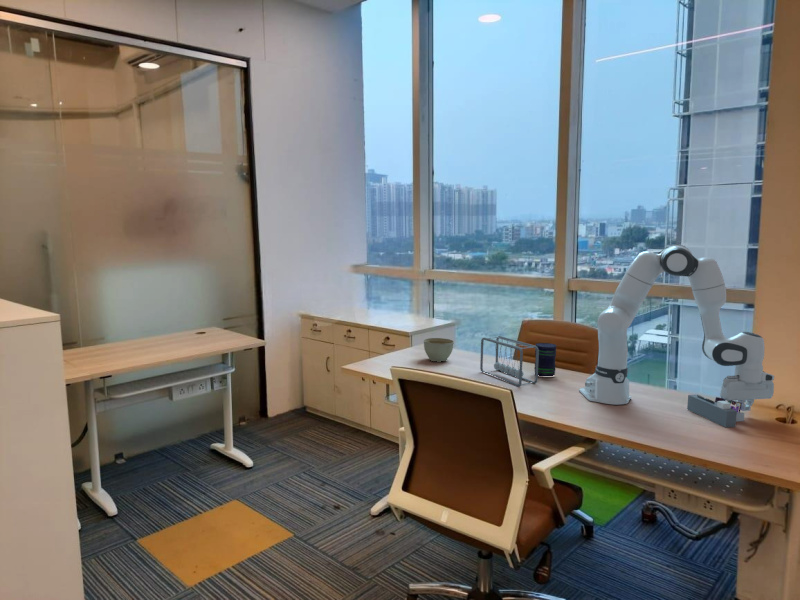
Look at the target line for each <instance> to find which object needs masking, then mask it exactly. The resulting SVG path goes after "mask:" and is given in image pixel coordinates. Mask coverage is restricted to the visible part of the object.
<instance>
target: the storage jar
mask: <svg viewBox="0 0 800 600" xmlns="http://www.w3.org/2000/svg"><path fill="white" fill-rule="evenodd" d="M535 346H537V347H538V349H539V360H538V375H539V376H553V375H555V374H556V358H557V344H554V343H550V342H549V343H548V342H538V343H535ZM534 352H535V354H534V356H535V357H536V349H535V348H534ZM533 368H534V369H533V370H534V371H535V370H536V360H535V363H534V367H533ZM555 376H556V375H555Z"/></svg>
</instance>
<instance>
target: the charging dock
mask: <svg viewBox="0 0 800 600" xmlns="http://www.w3.org/2000/svg"><path fill="white" fill-rule="evenodd" d="M730 406H732V403H729V402H728V401H727V400H725V401H717V402H715V400H712V399H710V398H706V397H704V396H702V395H699V394H688V395H687V408H686V409H688V410H687V411H689V410H690V412H691V411H692V412H691V413H693V412H694V414H695V413H696V414H695V415H698V414H699V415H698V416H700V415H701V416H700V417H702V416H703V417H702V418H704V417H705V418H704V419H706V418H707V420H708V419H709V421H710V420H711V422H712V423H715V424H717V425H719V426H722V427H723V428H736V423H738V422H744V421H745V412H744V411H742V412H741V411H740V413H737V411H736V410H734V409H731V408H730Z"/></svg>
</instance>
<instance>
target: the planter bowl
mask: <svg viewBox="0 0 800 600" xmlns="http://www.w3.org/2000/svg"><path fill="white" fill-rule="evenodd" d="M454 344H455V341H454V340H453V339H451V338H450V339H449V338H444V337H443V338H441V337H430V338H424V339H423V348H424V353H425V354H426V356H427V357H428V360H429V361H430V360H431V361H430V362H432V361H437V362H436V363H442V362H441V361H446V360H447V361H448V358H449V357H450V355H451V354H452V352H453V349H454ZM447 361H446V362H447Z"/></svg>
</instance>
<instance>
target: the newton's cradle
mask: <svg viewBox="0 0 800 600" xmlns="http://www.w3.org/2000/svg"><path fill="white" fill-rule="evenodd" d="M500 340H502V341H500ZM484 341H487V342H491V343H493V344H495V345H494V348H495V363H494V364H493V368H494V370H500V371H501V372H500V373H502V372H505V373H507V374H506V375H508V374H511V375H513V376H516V377H518V378H517V379H518V383H517V382H514V381H512V380H508V379H506V378H503V377H500V376H498V375H495V374H492V373H491V372H485V370H484V368H483V364H484ZM504 341H505V342H504ZM515 344H516V345H515ZM518 345H519V346H518ZM499 346H500V347H499ZM502 346H504V351H505V353H504V355H505V357H504V358H503V356H502V355H499V353H502ZM520 346H521V347H520ZM507 347H508V348H509V349H510V352H513V351H512V350H513V349H514V350H516V351H515V354H516V355H515V356H518V354H517V353H518V351H519V362H518V359H517V357H515V359H514V361H517V363H519V366H517V368H516V367H515V364H516V363H514V364H513V363H511V362H510V361H511V359H512V356H513V355H512V354H509V355H510V356H509V358H510V359H509V360H508V357H507V349H508V348H507ZM499 348H500V349H499ZM525 349H534V350H535V349H536V356H535V361H536V370H535V369H534V373H535V375H534V381H533V380H531V379H527V378H525V377H524V372H523V358H524V357H523V356H524V354H523V353H524V350H525ZM499 350H500V352H499ZM500 358H501V359H500ZM499 359H500V360H505V359H506V360H508V363H511V365H512V367H511V366H510V364H505V362H500V360H499ZM538 360H539V349H538V347H537V346H536V345H533V344H530V343H527V342H523V341H519V340H515V339H513V338H509V337H504V336H503V335H502V336H501V335H499V336H494V337H493V336H492V337H482V338H481V340H480V364H479V365H480V368H479V369H480V372H481V371H482V372H485V373H488V374H491V375H493V376H496V377H499V378H501V379H503V380H505V381H507V382H509V383H508V384H510V383H511V384H510V385H512V384H513V386H515V385H516V387H518V386H519V387H521V386H523V385H528V384H529V385H530V382H532V383H534V384H533V385H536V384H537V383H538V378H539V377H538ZM482 372H481V373H482ZM505 373H504V374H505ZM513 376H512V377H513ZM516 377H515V378H516ZM522 379H524V380H526V381H525V383H523V382H522V381H524V380H522ZM505 381H504V382H505ZM527 381H529V382H527ZM507 382H506V383H507ZM532 383H531V384H532Z"/></svg>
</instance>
